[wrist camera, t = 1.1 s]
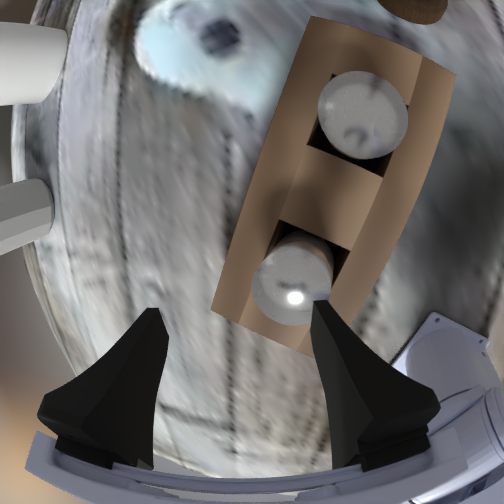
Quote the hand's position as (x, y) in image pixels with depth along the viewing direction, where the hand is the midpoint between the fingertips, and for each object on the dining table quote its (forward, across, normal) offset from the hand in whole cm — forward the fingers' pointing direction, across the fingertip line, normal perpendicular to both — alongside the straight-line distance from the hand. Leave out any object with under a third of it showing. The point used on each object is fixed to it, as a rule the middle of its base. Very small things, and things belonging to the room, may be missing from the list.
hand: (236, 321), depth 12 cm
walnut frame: (+11, -7, -2) cm, 13 cm away
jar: (+24, +32, 0) cm, 40 cm away
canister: (+29, +31, -24) cm, 49 cm away
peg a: (+8, -8, -8) cm, 14 cm away
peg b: (+7, -4, +2) cm, 8 cm away
